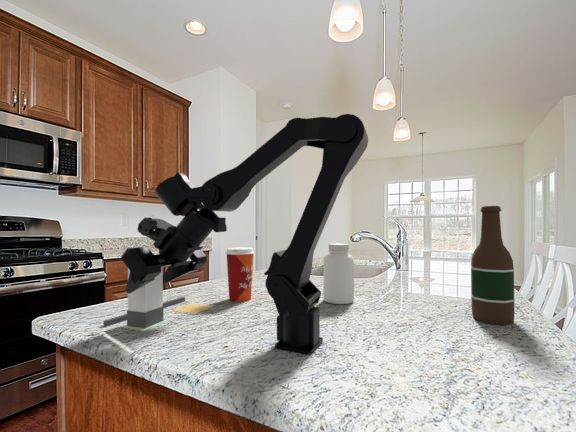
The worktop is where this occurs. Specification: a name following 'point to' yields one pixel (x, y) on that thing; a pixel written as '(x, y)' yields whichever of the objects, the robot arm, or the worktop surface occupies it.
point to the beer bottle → (492, 273)
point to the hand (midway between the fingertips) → (145, 287)
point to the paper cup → (240, 273)
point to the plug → (146, 304)
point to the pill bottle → (338, 275)
